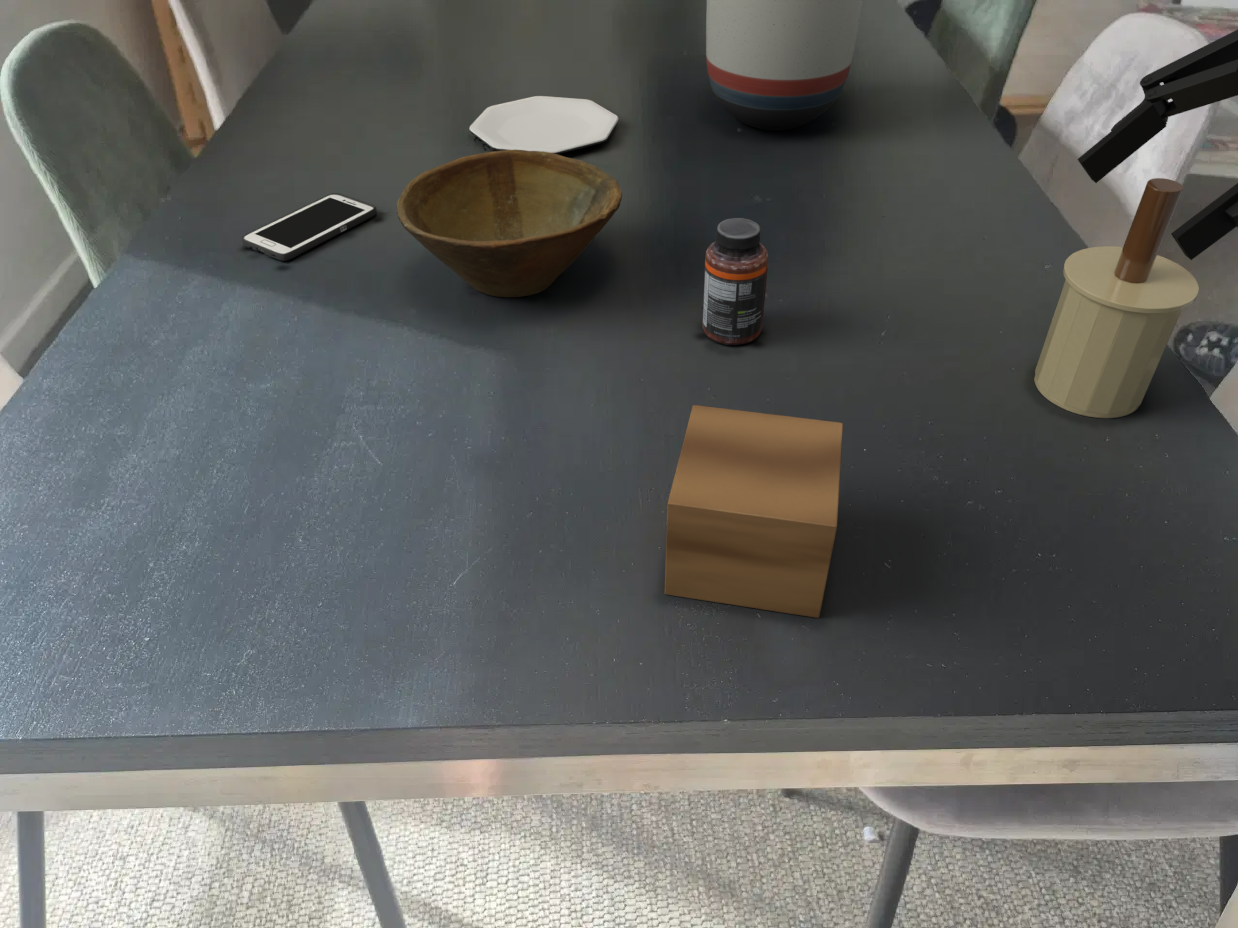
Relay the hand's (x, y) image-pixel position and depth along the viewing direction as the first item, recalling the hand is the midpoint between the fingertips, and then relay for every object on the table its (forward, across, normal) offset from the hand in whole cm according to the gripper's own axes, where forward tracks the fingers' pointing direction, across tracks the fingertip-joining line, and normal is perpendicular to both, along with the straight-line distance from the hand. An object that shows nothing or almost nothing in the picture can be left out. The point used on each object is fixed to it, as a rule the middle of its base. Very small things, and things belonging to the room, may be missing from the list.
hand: (1130, 207), depth 75 cm
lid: (+3, 0, -7) cm, 7 cm away
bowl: (+47, +28, +21) cm, 59 cm away
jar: (+11, 0, -14) cm, 18 cm away
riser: (+36, -16, +11) cm, 41 cm away
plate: (+42, +68, +17) cm, 82 cm away
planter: (+19, +67, -6) cm, 70 cm away
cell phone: (+63, +43, +38) cm, 85 cm away
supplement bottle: (+32, +14, +7) cm, 36 cm away
